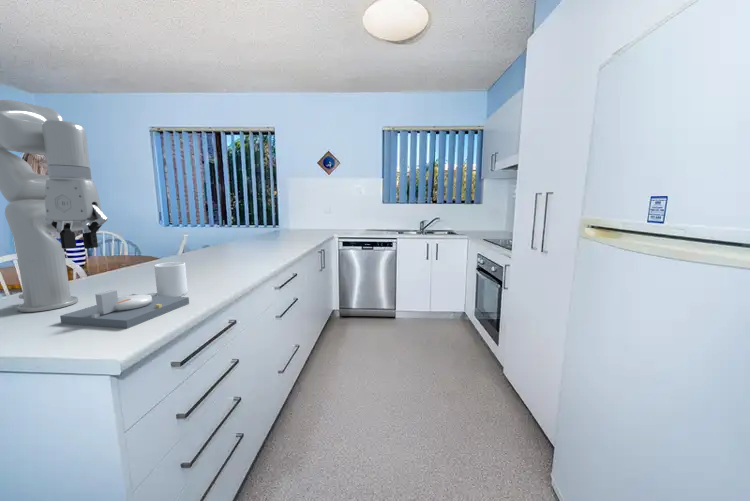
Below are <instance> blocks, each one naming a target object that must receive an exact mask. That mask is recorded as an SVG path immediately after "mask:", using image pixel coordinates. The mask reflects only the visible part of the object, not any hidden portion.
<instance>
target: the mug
mask: <svg viewBox="0 0 750 501" xmlns="http://www.w3.org/2000/svg"><path fill="white" fill-rule="evenodd" d="M153 266H154V274H155V275H154V276H155V285H156V294H157V295H156V296H174V297H184V296H185V295H187V294H188V279H187V268H186V262H184V261H183V262H182V261H172V262H171V261H169V262H162V263H156V264H154V265H153Z"/></svg>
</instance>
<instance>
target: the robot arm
mask: <svg viewBox="0 0 750 501" xmlns="http://www.w3.org/2000/svg"><path fill="white" fill-rule="evenodd" d="M13 152H16V153H22V154H23V153H24V154H34V155H43V156H44V155H45V157H46V165H47V170H46V174H39V173H35V172H34V169H33V167H32V166H31V165H30V164H29V163H28V162H27V161H26V160H25V159H23V158H21V157H20V156H18V155H16V154H14V153H13ZM0 193H1V194H2V196H3V198H4V199H5V200H6V201H8V202H9V203H8V204H7V205H6V207H5V208H4V215H5V219H6V222H7V224H8V227H9V229H10V232H11V234H12V237H13V241H14V242H13V243H14V247H15V252H16V256H17V262H18V270H19V274H20V280H21V282H20V283H21V289H22V293H20V294H19V295H18V298H19V299H23V303H21V304H19V305H17V307H16V308H17V311H18V312H21V313H34V312H36V313H37V312H42V311H43V312H44V311H50V310H51V311H52V310H56V309H60V308H64V307H65V308H66V307H68V306H72V305H74V304H76V303H78V302H79V297H77V296H74V295H71V290H70V283H69V282H70V281H69V275H68V274H69V273H68V268H67V261H66V255H65V250H67V249H74V248H77V241H76V234H75V232H76V231H83V230H84V232H82V242H83V249H85V250H87V249H88V250H89V249H94V248H98V247H99V243H98V236H97V233H98V232H99V230H100V228H102V226H103V225H104V224H105V223H106V222H107V221H108V217H107V216H106V215H105V214H104V212H103V211H102V207H101V201H100V197H99V192H98V189H97V186H96V184H95V182H94V180H93V179H92V171H91V165H90V155H89V149H88V139H87V133H86V129H85V128H84V127H83V126H82V125H81V124H79V123H75V122H72V121H67V120H64V118H63V116H62V115H61V114H60V113H59V112H58V111H57V110H55V109H53V108H50V107H47V106H41V105H37V104H31V103H27V102H22V101H17V100H12V99H0ZM50 233H58V234H59V239H60V241H59V240H58V239H57V238H55V237H54V236H53V235H51V234H50Z"/></svg>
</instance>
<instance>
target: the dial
mask: <svg viewBox="0 0 750 501" xmlns="http://www.w3.org/2000/svg"><path fill="white" fill-rule="evenodd" d="M129 295H130V296H129ZM129 295H125V296H121V297H119V295H118V290H108V291H103V292H99V293H97V294H95V301H96V305H97V311H98V313H100V314H107V313H110V312H113V311H117V310H128V309H134V308H139V307H143V306H146V305H148V304H150V303H152V296H151V295H152V294H138V295H132V294H129Z"/></svg>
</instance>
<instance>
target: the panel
mask: <svg viewBox="0 0 750 501" xmlns="http://www.w3.org/2000/svg"><path fill="white" fill-rule="evenodd" d="M130 295H139V293H138V294H135V293H132V294H129V295H128V296H130ZM150 295H151V296H152V303H150V304H148V305H146V306H143V307H139V308H134V309H128V310H117V311H113V312H110V313H107V314H100V313H98V311H97V304H96V305H92V306H89V307H84V308H82V309H78V310H75V311H72V312H69V313H66V314H64V313H63V314H62V315H60V316H59V317H60V324H65V325H66V324H68V325H81V326H92V327H94V326H95V327H104V328H105V327H106V328H115V329H116V328H117V329H119V328H120V329H129V328H132V327H134V326H137V325H139V324H142V323H145V322H147V321H149V320H152V319H154V318H157V317H159V316H162V315H164V314H166V313H169V312H172V311H174V310H177V309H179V308H181V307H182V308H183V307H184V306H186V305H189V304H190V298H189V297H188V296H180V297H174V296H158V295H154V294H153V295H152V294H150Z"/></svg>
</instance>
